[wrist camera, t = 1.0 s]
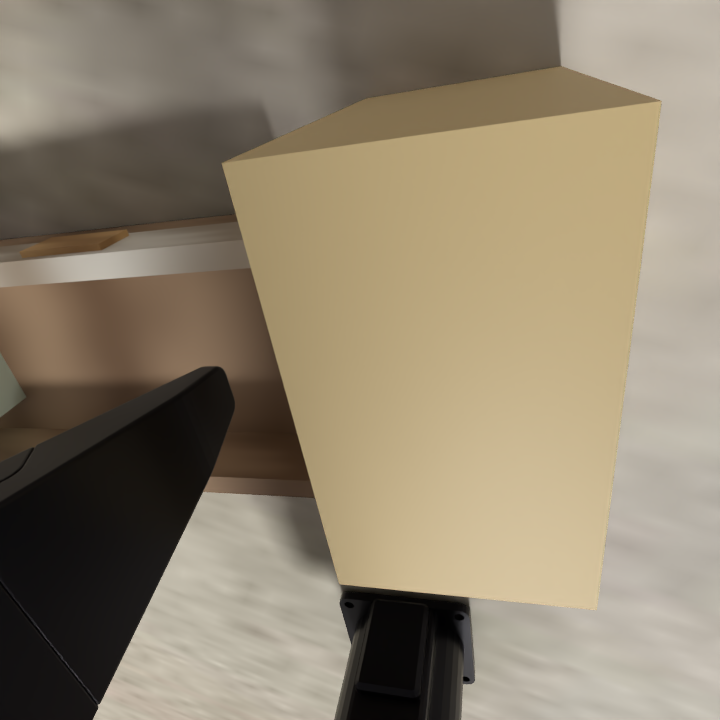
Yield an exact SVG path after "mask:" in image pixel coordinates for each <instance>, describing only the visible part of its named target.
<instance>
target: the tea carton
mask: <svg viewBox="0 0 720 720" xmlns="http://www.w3.org/2000/svg"><path fill="white" fill-rule="evenodd" d="M661 102H662V101H660V100H657V99H655V98H652V97H649V96H646V95H643V94H640V93H637V92H634V91H631V90H628V89H626V88H623V87H620V86H617V85H614V84H611V83H608V82H605V81H602V80H599V79H597V78H594V77H591V76H588V75H585V74H582V73H579V72H576V71H573V70H570V69H568V68H565V67H562V66H559V67H553V68H547V69H541V70H535V71H529V72H523V73H517V74H511V75H505V76H499V77H493V78H487V79H480V80H474V81H468V82H462V83H456V84H450V85H444V86H438V87H432V88H426V89H420V90H414V91H408V92H402V93H396V94H390V95H384V96H377V97H371V98H366V99H364V100H361V101H359V102H357V103H355V104H352V105H350V106H348V107H346V108H343V109H341V110H339V111H337V112H335V113H332V114H330V115H328V116H326V117H323V118H321V119H319V120H317V121H314V122H312V123H310V124H308V125H305V126H303V127H301V128H299V129H296V130H294V131H292V132H290V133H288V134H285V135H283V136H281V137H279V138H276V139H274V140H272V141H270V142H267V143H265V144H263V145H261V146H258V147H256V148H254V149H252V150H249V151H247V152H245V153H243V154H241V155H238V156H236V157H234V158H232V159H229V160H227V161H225V162H223V163H222V166H223V170H224V174H225V177H226V181H227V184H228V188H229V191H230V195H231V199H232V202H233V206H234V209H235V213H236V216H237V220H238V224H239V227H240V231H241V234H242V238H243V242H244V245H245V249H246V252H247V256H248V259H249V263H250V267H251V270H252V274H253V277H254V281H255V284H256V288H257V292H258V295H259V299H260V302H261V306H262V310H263V313H264V317H265V320H266V324H267V327H268V331H269V335H270V338H271V342H272V345H273V349H274V352H275V356H276V360H277V363H278V367H279V370H280V374H281V377H282V381H283V385H284V388H285V392H286V395H287V399H288V403H289V406H290V410H291V413H292V417H293V420H294V424H295V428H296V431H297V435H298V438H299V442H300V445H301V449H302V453H303V456H304V460H305V463H306V467H307V471H308V474H309V478H310V481H311V485H312V488H313V492H314V496H315V499H316V503H317V506H318V510H319V513H320V517H321V521H322V524H323V528H324V531H325V535H326V538H327V542H328V546H329V549H330V553H331V556H332V560H333V564H334V567H335V571H336V574H337V578H338V581H339V584H342V585H352V586H362V587H372V588H381V589H391V590H401V591H411V592H421V593H431V594H441V595H451V596H461V597H471V598H481V599H490V600H500V601H510V602H520V603H530V604H540V605H550V606H560V607H570V608H580V609H589V610H597V604H598V596H599V588H600V581H601V573H602V565H603V557H604V549H605V541H606V534H607V526H608V518H609V510H610V502H611V494H612V486H613V479H614V471H615V463H616V455H617V447H618V439H619V431H620V424H621V416H622V408H623V400H624V392H625V384H626V377H627V369H628V361H629V353H630V345H631V337H632V329H633V322H634V314H635V306H636V298H637V290H638V282H639V274H640V267H641V259H642V251H643V243H644V235H645V227H646V219H647V212H648V204H649V196H650V188H651V180H652V172H653V165H654V157H655V149H656V141H657V133H658V125H659V117H660V110H661Z"/></svg>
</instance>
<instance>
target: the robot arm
mask: <svg viewBox="0 0 720 720" xmlns="http://www.w3.org/2000/svg"><path fill="white" fill-rule="evenodd" d="M234 411H235V399H234V396H233V393H232V390H231V387H230V384H229V381H228V378H227V375H226V373H225V371H224V369H223V368H221V367H219V366H204V367H200V368H198V369H196V370H194V371H191V372H189V373H187V374H185V375H183V376H181V377H179V378H177V379H175V380H172V381H170V382H168V383H166V384H164V385H162V386H160V387H158V388H156V389H153V390H151V391H149V392H147V393H145V394H143V395H141V396H139V397H137V398H134V399H132V400H130V401H128V402H126V403H124V404H122V405H120V406H118V407H115V408H113V409H111V410H109V411H107V412H105V413H103V414H101V415H99V416H96V417H94V418H92V419H90V420H88V421H86V422H84V423H82V424H80V425H77V426H75V427H73V428H71V429H69V430H67V431H65V432H63V433H61V434H59V435H56V436H54V437H52V438H50V439H48V440H46V441H44V442H42V443H40V444H37V445H36V446H35V448H34V447H31V448H29V449H27V450H25V451H22V452H20V453H18V454H16V455H14V456H12V457H10V458H8V459H5V460H3V461H1V462H0V720H93V718H94V716H95V714H96V712H97V710H98V704H100V703H101V701H102V699H103V697H104V694H105V692H106V690H107V688H108V686H109V684H110V682H111V680H112V678H113V676H114V674H115V672H116V670H117V668H118V666H119V664H120V662H121V660H122V657H123V655H124V653H125V651H126V649H127V647H128V645H129V643H130V641H131V639H132V637H133V635H134V633H135V631H136V629H137V627H138V625H139V623H140V620H141V618H142V616H143V614H144V612H145V610H146V608H147V606H148V604H149V602H150V600H151V598H152V596H153V594H154V592H155V590H156V588H157V586H158V583H159V581H160V579H161V577H162V575H163V573H164V571H165V569H166V567H167V565H168V563H169V561H170V559H171V557H172V555H173V553H174V551H175V549H176V546H177V544H178V542H179V540H180V538H181V536H182V534H183V532H184V530H185V528H186V526H187V524H188V522H189V520H190V518H191V516H192V514H193V511H194V509H195V507H196V505H197V503H198V501H199V499H200V497H201V495H202V493H203V491H204V489H205V487H206V485H207V483H208V480H209V478H210V476H211V474H212V471H213V469H214V466H215V464H216V461H217V458H218V456H219V453H220V450H221V447H222V445H223V442H224V439H225V436H226V433H227V431H228V428H229V425H230V422H231V420H232V417H233V414H234ZM340 607H341V610H342V613H343V617H344V620H345V624H346V627H347V631H348V634H349V638H350V641H351V645H352V646H351V650H350V654H349V658H348V663H347V667H346V671H345V676H344V680H343V684H342V689H341V693H340V697H339V702H338V706H337V710H336V714H335V719H334V720H461V711H462V689H463V684H472V683H474V681H475V667H474V655H473V642H472V629H471V617H470V609H469V608H468V607H467V606H466V605H464V604H460V603H452V602H443V601H433V600H423V599H414V598H404V597H395V596H385V595H376V594H366V593H357V592H344V593H343V594H342V595H341V599H340Z"/></svg>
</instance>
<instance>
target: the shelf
mask: <svg viewBox="0 0 720 720" xmlns="http://www.w3.org/2000/svg"><path fill="white" fill-rule="evenodd" d="M0 353H1V355H2V356H3V358H4V360H5V362H6V363H7V365H8V367H9V368H10V370H11V372H12V373H13V375H14V377H15V378H16V380H17V382H18V383H19V385H20V387H21V388H22V390H23V392H24V393H25V395H26V398H25V399H24V400H22V401H21V402H20V403H18V404H17V405H16V406H14V407H13V408H12V409H11V410H9V411H8V412H7V413H5V414H4V415H3V416H1V417H0V462H1V461H3V460H5V459H8V458H10V457H12V456H14V455H16V454H18V453H20V452H22V451H25V450H27V449H29V448H31V447H34V448H35V446H36V445H37V444H40V443H42V442H44V441H46V440H48V439H50V438H52V437H54V436H56V435H59V434H61V433H63V432H65V431H67V430H69V429H71V428H73V427H75V426H77V425H80V424H82V423H84V422H86V421H88V420H90V419H92V418H94V417H96V416H99V415H101V414H103V413H105V412H107V411H109V410H111V409H113V408H115V407H118V406H120V405H122V404H124V403H126V402H128V401H130V400H132V399H134V398H137V397H139V396H141V395H143V394H145V393H147V392H149V391H151V390H153V389H156V388H158V387H160V386H162V385H164V384H166V383H168V382H170V381H172V380H175V379H177V378H179V377H181V376H183V375H185V374H187V373H189V372H191V371H194V370H196V369H198V368H200V367H204V366H219V367H221V368H223V369H224V371H225V373H226V375H227V378H228V381H229V384H230V387H231V390H232V393H233V396H234V399H235V411H234V414H233V417H232V420H231V422H230V425H229V428H228V431H227V433H226V436H225V439H224V442H223V445H222V447H221V450H220V453H219V456H218V458H217V461H216V464H215V466H214V469H213V471H212V474H211V476H210V478H209V480H208V483H207V485H206V487H205V489H204V491H203V492H215V493H234V494H252V495H271V496H289V497H308V498H315V496H314V492H313V488H312V485H311V481H310V478H309V474H308V471H307V467H306V463H305V460H304V456H303V453H302V449H301V445H300V442H299V438H298V435H297V431H296V428H295V424H294V420H293V417H292V413H291V410H290V406H289V403H288V399H287V395H286V392H285V388H284V385H283V381H282V377H281V374H280V370H279V367H278V363H277V360H276V356H275V352H274V349H273V345H272V342H271V338H270V335H269V331H268V327H267V324H266V320H265V317H264V313H263V310H262V306H261V302H260V299H259V295H258V292H257V288H256V284H255V281H254V277H253V274H252V270H251V267H250V263H249V259H248V256H247V252H246V249H245V245H244V242H243V238H242V234H241V231H240V227H239V224H238V220H237V216H236V214H233V215H224V216H215V217H206V218H197V219H188V220H178V221H169V222H160V223H151V224H142V225H133V226H124V227H115V228H106V229H96V230H87V231H78V232H69V233H60V234H51V235H42V236H33V237H24V238H15V239H5V240H0Z"/></svg>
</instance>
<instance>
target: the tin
mask: <svg viewBox="0 0 720 720" xmlns="http://www.w3.org/2000/svg"><path fill="white" fill-rule="evenodd" d="M25 398H26V395H25V393H24V392H23V390H22V388H21V387H20V385H19V383H18V382H17V380H16V378H15V377H14V375H13V373H12V372H11V370H10V368H9V367H8V365H7V363H6V362H5V360H4V358H3V356H2V355H1V353H0V417H1V416H3V415H4V414H5V413H7V412H8V411H9V410H11V409H12V408H13V407H14V406H16V405H17V404H18V403H20V402H21V401H22V400H24V399H25Z"/></svg>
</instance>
